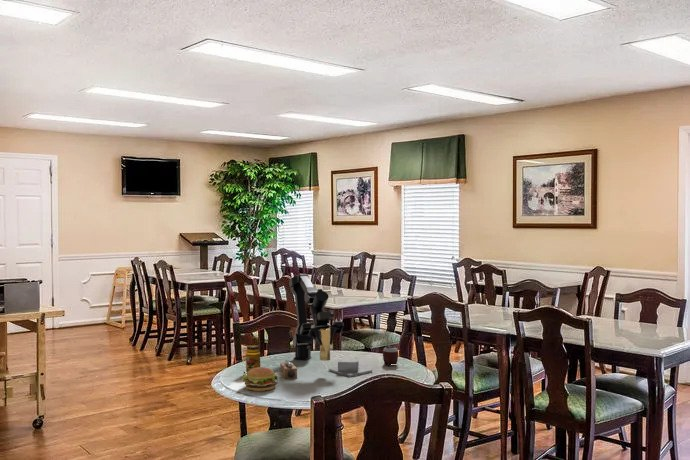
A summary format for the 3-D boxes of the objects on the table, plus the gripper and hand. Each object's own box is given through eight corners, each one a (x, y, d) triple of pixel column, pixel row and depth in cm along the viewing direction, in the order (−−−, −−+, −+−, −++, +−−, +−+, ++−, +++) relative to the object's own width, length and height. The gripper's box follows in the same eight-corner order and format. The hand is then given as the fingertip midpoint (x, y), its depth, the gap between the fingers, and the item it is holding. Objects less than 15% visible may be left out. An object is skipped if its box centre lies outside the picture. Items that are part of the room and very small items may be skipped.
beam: (280, 372, 282) (280, 362, 282) (291, 371, 283) (291, 362, 283) (285, 379, 270) (285, 369, 270) (297, 378, 272) (297, 368, 272)
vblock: (328, 371, 284) (328, 359, 284) (350, 366, 293) (350, 355, 293) (350, 377, 274) (350, 365, 274) (372, 372, 282) (372, 360, 282)
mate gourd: (395, 367, 292) (396, 334, 292) (379, 365, 295) (379, 333, 294) (399, 363, 299) (400, 331, 299) (383, 362, 302) (383, 330, 301)
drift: (284, 363, 281) (284, 359, 281) (288, 363, 281) (288, 359, 281) (288, 368, 272) (288, 364, 272) (292, 368, 273) (292, 364, 273)
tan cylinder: (318, 360, 275) (318, 329, 275) (322, 357, 280) (322, 328, 279) (327, 361, 274) (328, 330, 274) (331, 358, 278) (331, 328, 278)
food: (234, 388, 257) (234, 368, 256) (263, 381, 266) (263, 362, 266) (255, 395, 247) (255, 374, 247) (284, 388, 257) (284, 368, 256)
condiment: (246, 376, 275) (246, 348, 275) (243, 371, 283) (243, 344, 283) (263, 375, 277) (263, 347, 277) (259, 370, 285) (260, 343, 285)
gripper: (301, 304, 276) (309, 335, 266) (342, 302, 283) (351, 332, 273) (296, 320, 284) (303, 350, 274) (336, 317, 291) (344, 347, 281)
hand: (326, 344), depth 275 cm, fingers closed on tan cylinder, 4 cm apart
